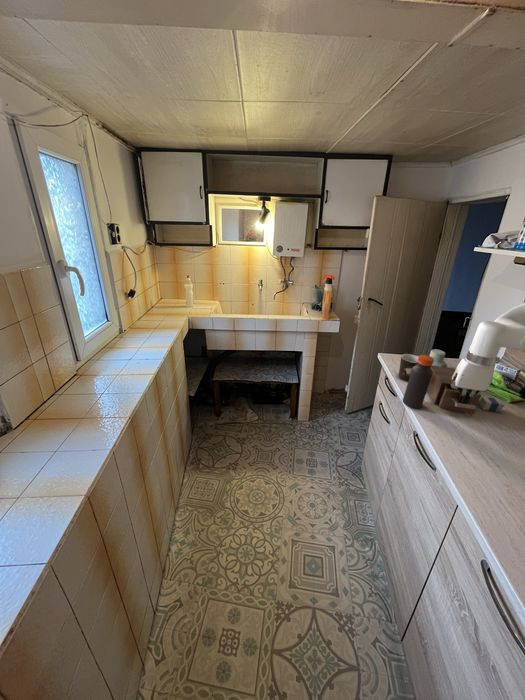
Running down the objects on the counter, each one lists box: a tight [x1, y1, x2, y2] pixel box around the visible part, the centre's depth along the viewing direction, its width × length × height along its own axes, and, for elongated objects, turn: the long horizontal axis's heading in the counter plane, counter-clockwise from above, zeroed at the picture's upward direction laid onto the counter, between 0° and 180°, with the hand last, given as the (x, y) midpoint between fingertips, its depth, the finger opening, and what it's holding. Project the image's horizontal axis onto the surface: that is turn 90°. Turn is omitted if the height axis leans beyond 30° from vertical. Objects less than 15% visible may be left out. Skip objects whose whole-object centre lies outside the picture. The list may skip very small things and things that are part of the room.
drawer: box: [438, 385, 482, 414], centre depth 107 cm, size 18×11×8 cm, turn 166°
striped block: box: [478, 395, 505, 413], centre depth 107 cm, size 6×4×4 cm
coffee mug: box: [398, 353, 419, 383], centre depth 124 cm, size 12×9×10 cm
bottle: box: [402, 354, 434, 409], centre depth 105 cm, size 7×7×20 cm
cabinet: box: [427, 366, 456, 405], centre depth 113 cm, size 15×13×10 cm
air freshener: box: [429, 348, 448, 368], centre depth 133 cm, size 11×8×10 cm
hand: (461, 403), depth 101 cm, fingers closed
